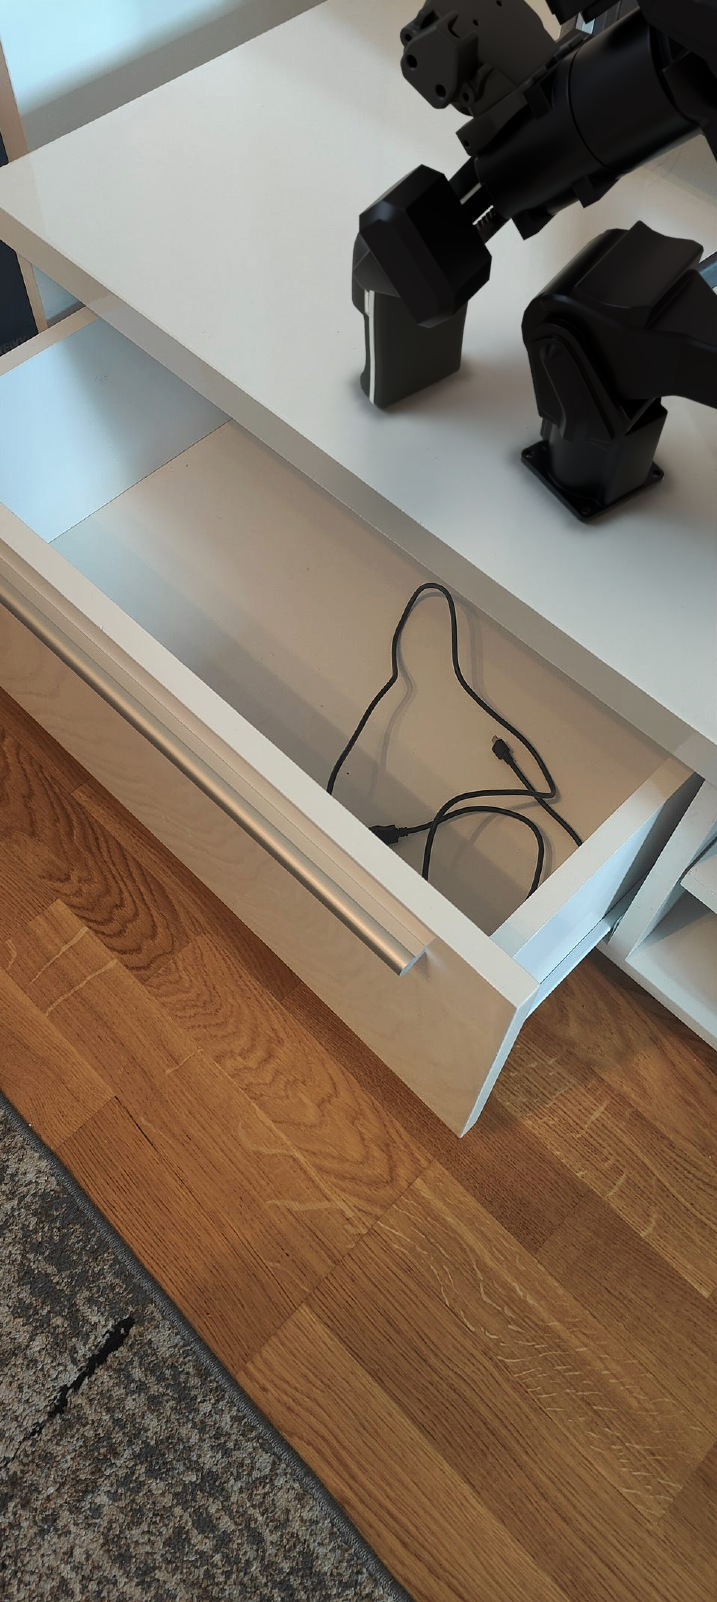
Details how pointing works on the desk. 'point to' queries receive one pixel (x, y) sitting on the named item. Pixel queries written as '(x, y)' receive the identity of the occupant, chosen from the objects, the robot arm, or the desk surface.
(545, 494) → the desk surface
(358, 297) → the battery charger
